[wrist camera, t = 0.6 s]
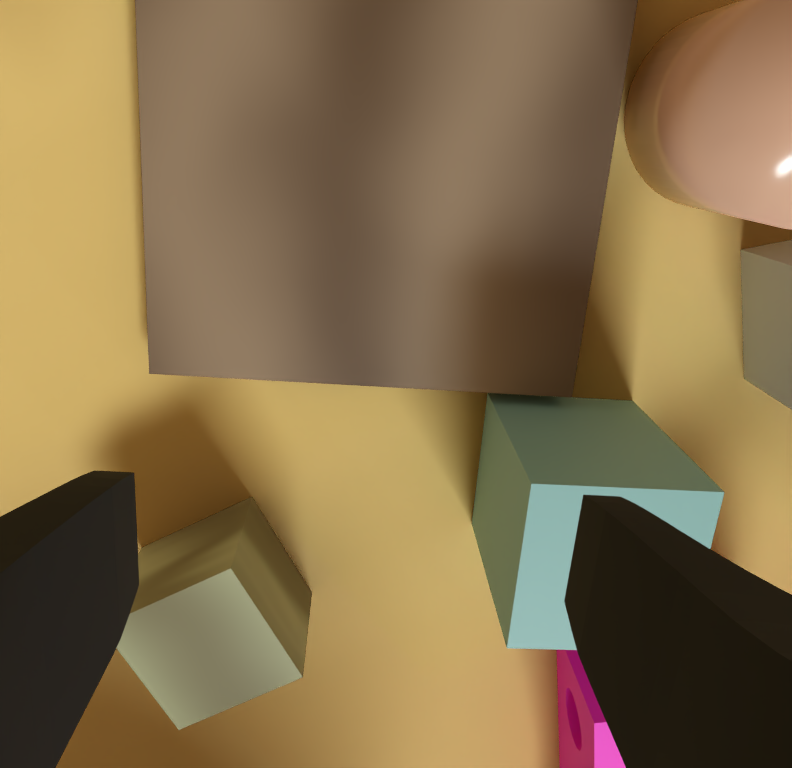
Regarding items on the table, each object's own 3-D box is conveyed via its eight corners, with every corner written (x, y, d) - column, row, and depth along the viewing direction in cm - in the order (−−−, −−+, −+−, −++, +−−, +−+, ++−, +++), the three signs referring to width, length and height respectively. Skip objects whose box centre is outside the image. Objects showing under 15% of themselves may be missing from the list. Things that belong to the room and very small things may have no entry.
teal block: (632, 400, 22) (724, 492, 17) (607, 528, 24) (684, 653, 18) (487, 392, 22) (531, 483, 16) (471, 523, 23) (507, 647, 18)
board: (667, -269, 17) (686, -292, 16) (562, 385, 22) (571, 397, 21) (135, -334, 16) (121, -363, 15) (158, 362, 21) (149, 373, 20)
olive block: (252, 495, 23) (230, 568, 19) (312, 591, 24) (302, 677, 20) (142, 545, 23) (100, 626, 19) (206, 637, 25) (178, 730, 21)
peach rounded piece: (829, 18, 19) (984, -19, 14) (781, 213, 21) (906, 238, 16) (643, 0, 19) (738, -44, 14) (609, 200, 20) (684, 222, 16)
